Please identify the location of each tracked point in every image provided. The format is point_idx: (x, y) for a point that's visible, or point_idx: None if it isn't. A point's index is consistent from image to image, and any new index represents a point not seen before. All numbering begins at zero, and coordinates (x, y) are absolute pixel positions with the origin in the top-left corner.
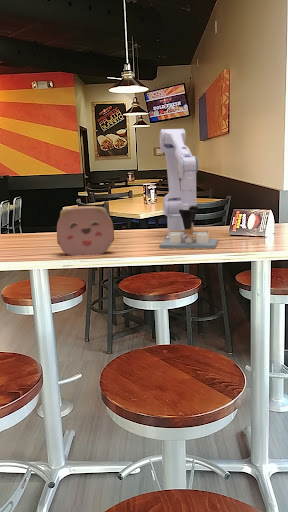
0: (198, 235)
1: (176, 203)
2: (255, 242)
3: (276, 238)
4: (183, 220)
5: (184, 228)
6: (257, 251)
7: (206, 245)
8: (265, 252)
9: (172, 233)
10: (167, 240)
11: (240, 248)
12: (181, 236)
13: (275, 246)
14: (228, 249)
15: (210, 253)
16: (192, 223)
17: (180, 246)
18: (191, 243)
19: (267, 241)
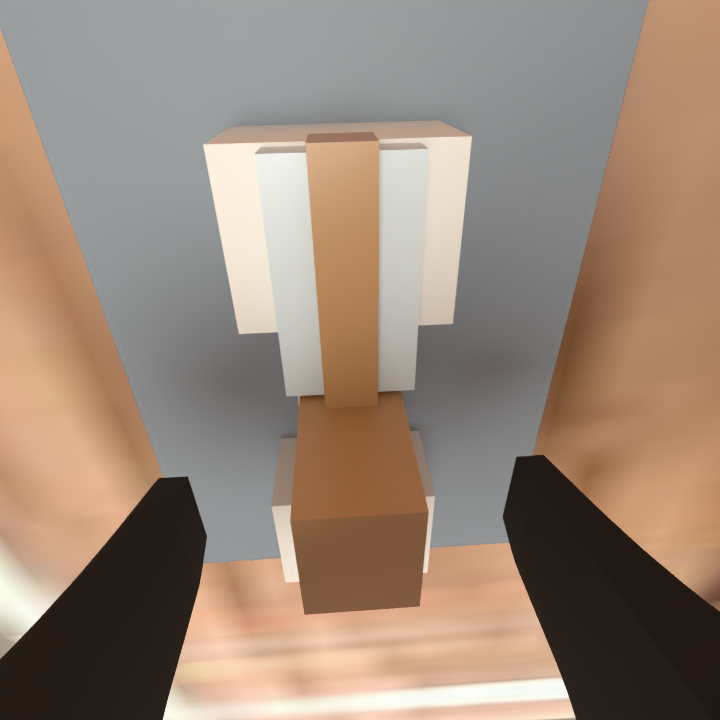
0: (275, 518)
1: None
2: (459, 662)
3: None
4: (37, 636)
5: (298, 444)
6: (182, 688)
7: None
8: (167, 708)
9: (261, 202)
10: (469, 22)
11: (253, 635)
12: None
13: (338, 717)
14: (201, 599)
15: (7, 542)
16: (334, 602)
17: (109, 307)
18: (246, 401)
19: (486, 689)
